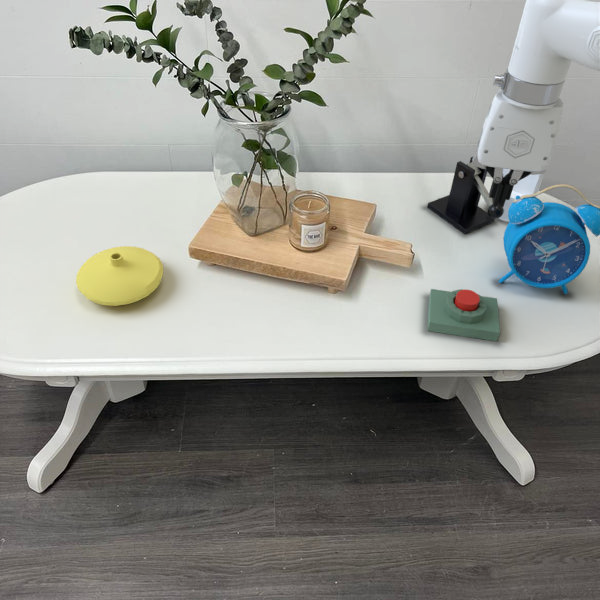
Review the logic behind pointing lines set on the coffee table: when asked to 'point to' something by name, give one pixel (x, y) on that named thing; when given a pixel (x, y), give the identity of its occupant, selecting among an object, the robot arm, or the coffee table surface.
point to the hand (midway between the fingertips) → (497, 201)
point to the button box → (463, 316)
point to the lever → (486, 195)
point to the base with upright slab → (521, 190)
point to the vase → (119, 275)
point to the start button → (467, 300)
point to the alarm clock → (548, 240)
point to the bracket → (463, 201)
